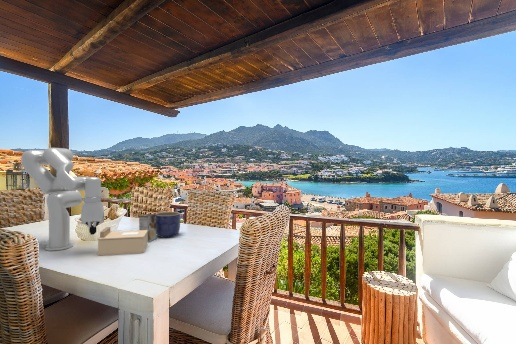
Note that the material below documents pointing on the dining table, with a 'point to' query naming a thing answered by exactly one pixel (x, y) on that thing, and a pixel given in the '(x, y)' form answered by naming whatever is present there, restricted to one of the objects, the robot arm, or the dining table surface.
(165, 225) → the planter
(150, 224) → the coffee box
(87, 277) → the dining table surface
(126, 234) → the lid
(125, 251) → the box
